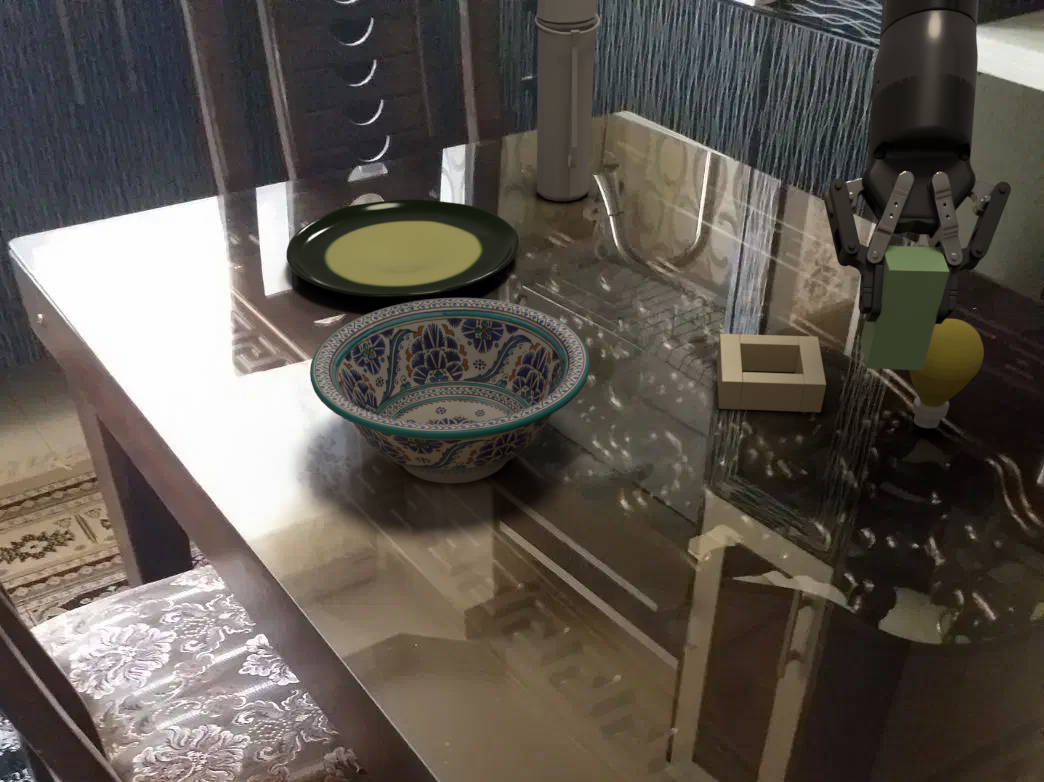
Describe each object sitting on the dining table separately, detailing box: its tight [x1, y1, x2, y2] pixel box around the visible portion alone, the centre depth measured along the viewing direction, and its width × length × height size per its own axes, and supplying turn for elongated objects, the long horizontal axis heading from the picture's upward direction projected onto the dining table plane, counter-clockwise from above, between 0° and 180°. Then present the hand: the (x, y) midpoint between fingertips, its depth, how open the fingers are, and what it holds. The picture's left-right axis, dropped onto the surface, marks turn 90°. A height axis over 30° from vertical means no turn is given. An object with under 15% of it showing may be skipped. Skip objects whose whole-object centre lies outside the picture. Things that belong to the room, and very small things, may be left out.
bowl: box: [309, 297, 591, 484], centre depth 106 cm, size 25×25×10 cm
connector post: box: [859, 245, 949, 371], centre depth 90 cm, size 4×4×8 cm
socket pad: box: [715, 333, 827, 413], centre depth 115 cm, size 10×10×3 cm
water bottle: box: [533, 0, 601, 202], centre depth 144 cm, size 9×8×25 cm
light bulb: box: [908, 318, 985, 429], centre depth 107 cm, size 7×7×10 cm
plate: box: [285, 198, 520, 299], centre depth 138 cm, size 28×28×2 cm
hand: (906, 318), depth 89 cm, fingers closed on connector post, 4 cm apart
